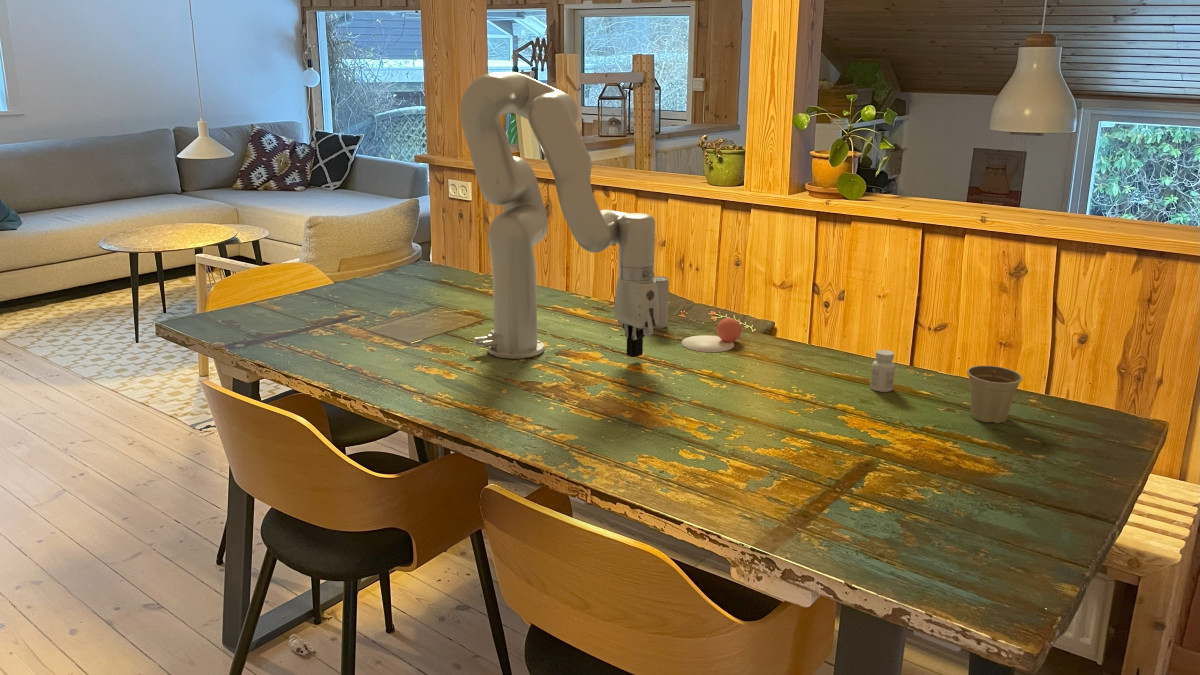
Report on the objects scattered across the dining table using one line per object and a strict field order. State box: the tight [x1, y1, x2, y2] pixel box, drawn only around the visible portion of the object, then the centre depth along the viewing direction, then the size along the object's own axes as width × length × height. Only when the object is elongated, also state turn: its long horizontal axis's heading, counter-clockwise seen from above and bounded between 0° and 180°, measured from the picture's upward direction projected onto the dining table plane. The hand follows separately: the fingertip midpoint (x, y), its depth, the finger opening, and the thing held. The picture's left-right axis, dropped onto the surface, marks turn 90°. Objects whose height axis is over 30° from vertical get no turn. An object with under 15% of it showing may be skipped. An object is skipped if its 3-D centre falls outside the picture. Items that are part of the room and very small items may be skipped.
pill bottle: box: [869, 349, 896, 393], centre depth 185 cm, size 4×4×8 cm
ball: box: [716, 317, 742, 343], centre depth 214 cm, size 6×6×6 cm
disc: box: [681, 335, 735, 353], centre depth 213 cm, size 12×12×1 cm
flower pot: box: [966, 365, 1024, 424], centre depth 171 cm, size 9×9×9 cm
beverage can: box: [652, 275, 670, 330], centre depth 224 cm, size 5×5×12 cm
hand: (634, 355), depth 200 cm, fingers closed
